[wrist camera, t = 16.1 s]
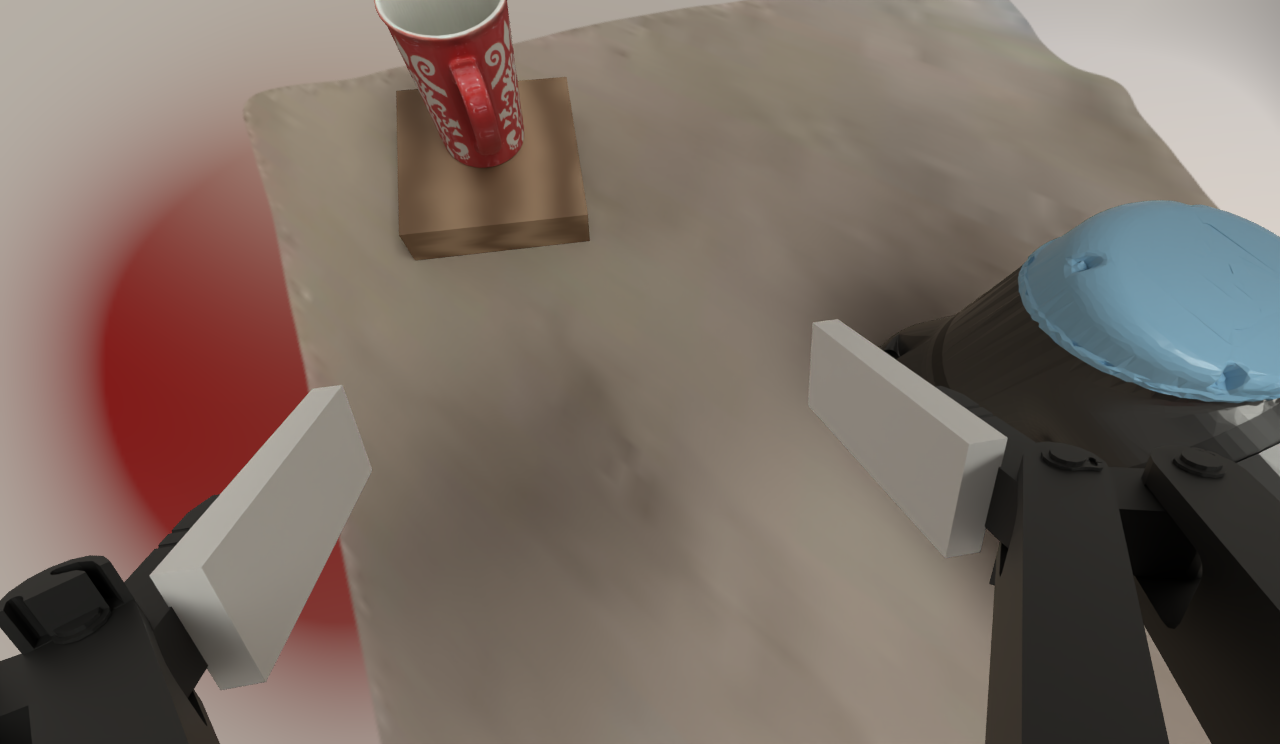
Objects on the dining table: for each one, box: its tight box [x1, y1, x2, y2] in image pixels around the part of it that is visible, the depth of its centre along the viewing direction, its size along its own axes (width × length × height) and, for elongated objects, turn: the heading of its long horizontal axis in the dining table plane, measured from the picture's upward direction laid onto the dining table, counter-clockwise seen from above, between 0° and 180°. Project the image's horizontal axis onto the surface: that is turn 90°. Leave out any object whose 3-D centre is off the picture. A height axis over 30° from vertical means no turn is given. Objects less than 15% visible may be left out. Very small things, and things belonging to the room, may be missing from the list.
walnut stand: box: [396, 77, 590, 260], centre depth 52 cm, size 16×16×4 cm
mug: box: [374, 0, 524, 168], centre depth 44 cm, size 13×9×14 cm
